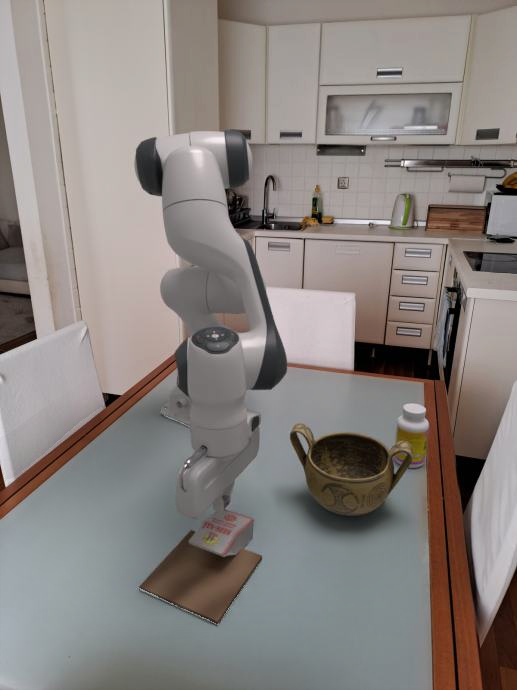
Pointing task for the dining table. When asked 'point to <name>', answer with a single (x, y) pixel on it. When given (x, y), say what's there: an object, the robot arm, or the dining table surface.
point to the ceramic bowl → (349, 469)
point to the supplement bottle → (413, 433)
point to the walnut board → (201, 578)
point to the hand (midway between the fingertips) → (222, 506)
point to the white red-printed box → (224, 533)
